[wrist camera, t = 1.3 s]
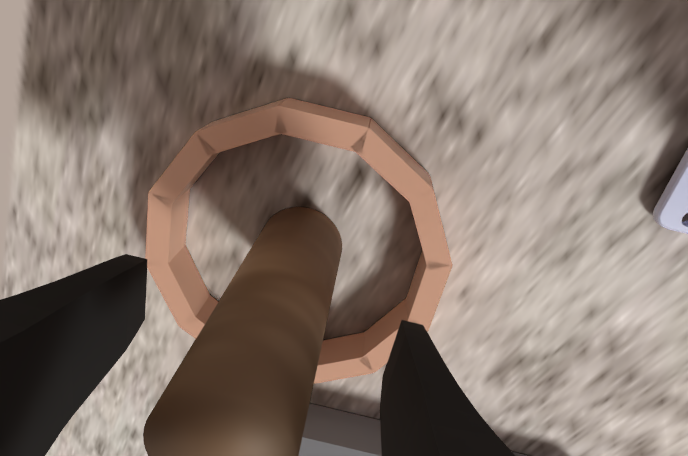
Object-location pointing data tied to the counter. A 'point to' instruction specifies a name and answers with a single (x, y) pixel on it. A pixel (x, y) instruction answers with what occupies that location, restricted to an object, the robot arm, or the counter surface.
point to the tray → (341, 434)
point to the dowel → (255, 349)
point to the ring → (322, 127)
